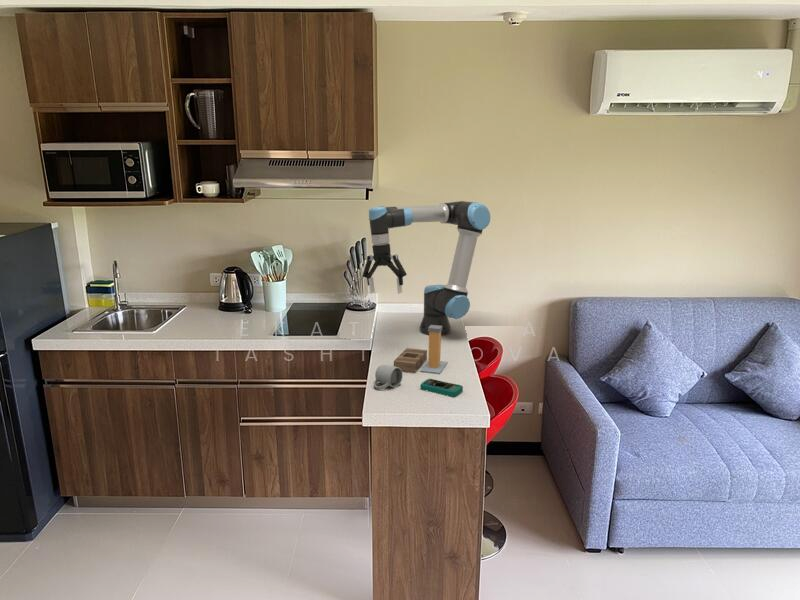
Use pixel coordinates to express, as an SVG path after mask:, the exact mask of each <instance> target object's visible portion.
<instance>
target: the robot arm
mask: <svg viewBox="0 0 800 600" xmlns="http://www.w3.org/2000/svg"><path fill="white" fill-rule="evenodd" d="M368 220H369V227H370V236H371V237H370V238H371V244H372V245H371V246H372V253H373V255H372V254H370V255H368V256H367V257H366V263H365V267H364V269H363V272H362V277H363V278H366V281H367V282H366V283H367V286H369V294H373V293H375V283H374V277H373V275H374V273H375V272H376V270H377V268H378V267H381V266H382V267H388V268H389V269H390V270H391V271H392V273H393V274H395V275H396V277H397V278H396V288H397V289H396V290H397V294H401V293H403V285H404V277H406V276H408V275H407V272H406V271H405V268H404V266H403V265H402V263H401V260H400V259H399V256H398V254H397V253H396V254H394V255H392V254H391V244H390V242H391V241H390V234H389V233H390V232H389V229H394V228H395V229H396V228H400V227H408V226H411V225H412V224H413V223H435V222H439V223H440V224H450V225H455V226H457V227H456V230H457V231H458V233H459V234H458V238H457V243H456V247H455V251H454V254H453V258H452V259H453V261H452V264H451V269H450V272H449V277H448V281H447V284H432V285H427V286H425V287H424V292H423V317H422V320H421V322H420V326H419V331H421V332H420V333H422V332H423V333H422V334H424V333H426V334H425V335H428V334H429V332H428V327H429V326H430V325H438V326H442V331H441V334H445V335H448V334H450V333H451V325H450V321H449V319H450V318H451V319H455V320H458V319H462V318H463V317H465V316H466V315H467V313H468V312H469V310H470V307H471V302H470V299H469V297H468V295H469V291H468V288H467V283H468V281H469V275H470V273H471V268H472V267H471V266H472V262H473V257H474V256H475V255H474V254H475V251H476V250H475V249H476V246H477V241H478V238H479V237H480V236H481V235H482V234H483V230H484V229H486V228H487V227H488V226H489V225H490V222H491V212H490V210H489V208H488V207H487V206H486V205H485V204H483V203H479V202H473V201H472V202H471V201H464V200H459V201H451V202H441V203H440V204H438V205H437V204H435V205H409V206H408V205H407V206H405V205H403V206H384V205H382V206H377V207H375V206H374V207H370V208H369V209H368ZM373 261H374V263H373V265H372V262H373ZM371 266H372V267H371ZM449 332H450V333H449ZM447 333H448V334H447Z"/></svg>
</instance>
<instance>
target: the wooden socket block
mask: <svg viewBox="0 0 800 600" xmlns="http://www.w3.org/2000/svg"><path fill="white" fill-rule="evenodd" d="M427 361H428V350H427V349H419V348H412V347H406V348H405V349H404V350H403V351H402V352H401V353H400V354H399V355H398V356H397V357H396V358H395V359H393V366H394V367H399V368H400V369H401V370H402V373H410V374H416V373H417V371H419V369H420V368H422V367H423V364H424V363H425V362H427Z"/></svg>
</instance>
